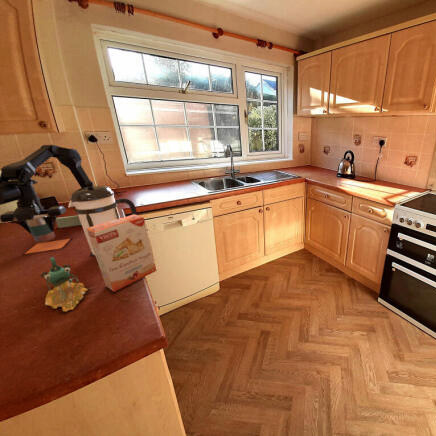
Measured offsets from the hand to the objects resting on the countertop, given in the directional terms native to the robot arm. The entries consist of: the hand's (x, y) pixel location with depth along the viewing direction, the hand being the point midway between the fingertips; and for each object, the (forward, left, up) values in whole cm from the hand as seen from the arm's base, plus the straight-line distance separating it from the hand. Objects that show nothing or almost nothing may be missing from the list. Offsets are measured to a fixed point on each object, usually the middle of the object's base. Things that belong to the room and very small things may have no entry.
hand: (42, 232), depth 103 cm
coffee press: (-28, +18, -7) cm, 34 cm away
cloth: (0, 0, -7) cm, 7 cm away
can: (0, 0, -3) cm, 3 cm away
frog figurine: (-21, +45, -7) cm, 50 cm away
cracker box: (-38, +43, -7) cm, 58 cm away
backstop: (-1, -25, -7) cm, 26 cm away
